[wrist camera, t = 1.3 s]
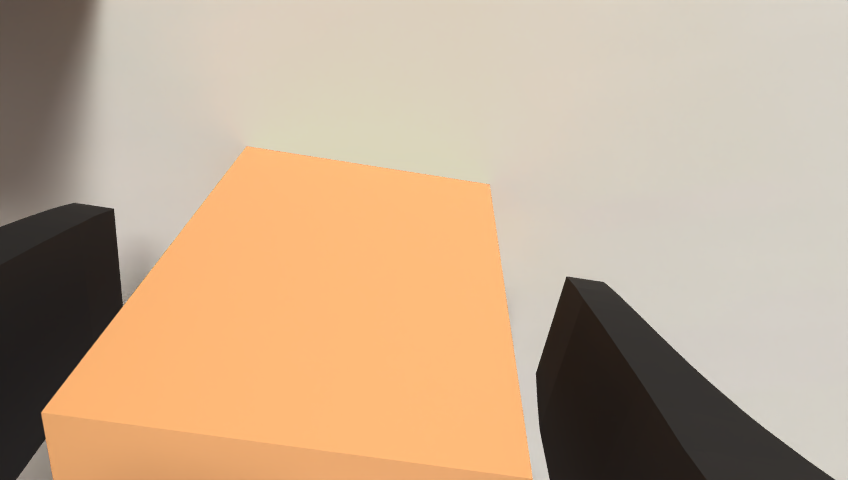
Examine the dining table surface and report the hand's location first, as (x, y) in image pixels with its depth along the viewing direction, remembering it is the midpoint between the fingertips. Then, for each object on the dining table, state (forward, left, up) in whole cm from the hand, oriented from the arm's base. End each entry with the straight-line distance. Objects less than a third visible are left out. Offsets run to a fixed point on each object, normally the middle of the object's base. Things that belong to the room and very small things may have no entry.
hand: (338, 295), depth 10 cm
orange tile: (0, 0, -4) cm, 4 cm away
